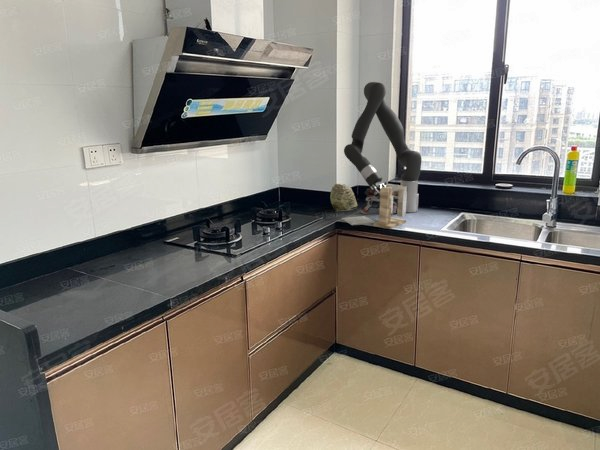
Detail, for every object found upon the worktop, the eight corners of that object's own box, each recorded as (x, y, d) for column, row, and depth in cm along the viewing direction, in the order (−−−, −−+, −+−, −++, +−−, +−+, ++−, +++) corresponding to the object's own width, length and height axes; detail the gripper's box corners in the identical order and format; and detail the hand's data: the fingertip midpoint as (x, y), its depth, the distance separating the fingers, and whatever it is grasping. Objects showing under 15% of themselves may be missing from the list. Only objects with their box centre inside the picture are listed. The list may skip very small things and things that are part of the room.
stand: (390, 219, 229) (392, 182, 224) (406, 222, 223) (408, 184, 219) (373, 226, 216) (374, 187, 211) (389, 229, 211) (391, 189, 206)
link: (384, 213, 224) (385, 184, 220) (387, 212, 227) (388, 183, 223) (402, 216, 218) (403, 186, 214) (405, 215, 220) (407, 185, 217)
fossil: (327, 210, 248) (327, 184, 244) (347, 205, 261) (348, 180, 257) (339, 213, 242) (340, 186, 238) (359, 208, 255) (360, 182, 251)
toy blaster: (398, 220, 240) (405, 193, 237) (360, 213, 240) (366, 186, 236) (396, 218, 244) (403, 192, 240) (359, 211, 243) (365, 185, 240)
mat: (364, 217, 234) (364, 216, 233) (375, 223, 222) (376, 221, 221) (341, 219, 230) (341, 218, 229) (352, 225, 218) (352, 224, 217)
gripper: (368, 172, 219) (388, 198, 215) (382, 169, 229) (401, 194, 225) (358, 182, 223) (377, 207, 219) (373, 178, 234) (391, 203, 230)
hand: (390, 200), depth 222 cm, fingers open, 8 cm apart
